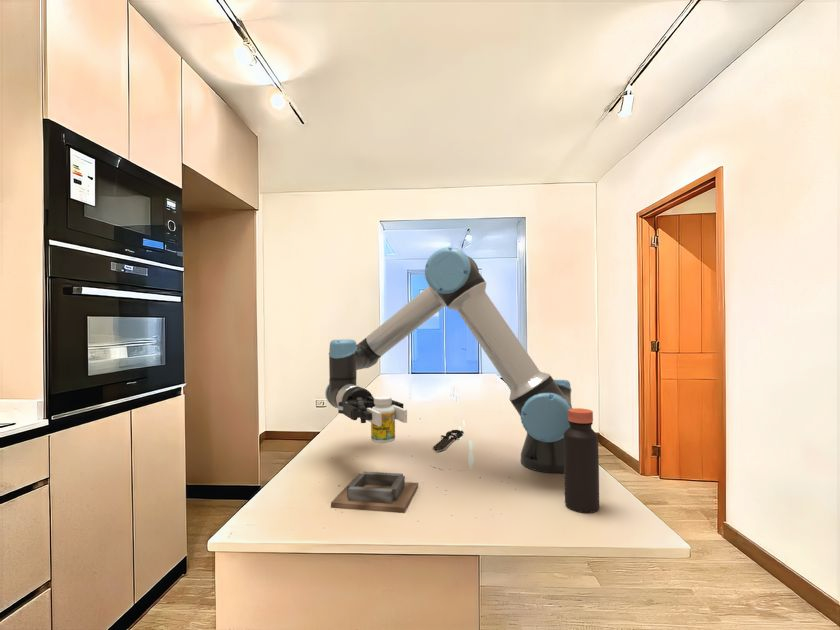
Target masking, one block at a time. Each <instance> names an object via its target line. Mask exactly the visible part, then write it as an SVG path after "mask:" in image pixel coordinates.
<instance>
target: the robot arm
mask: <svg viewBox="0 0 840 630" xmlns="http://www.w3.org/2000/svg"><path fill="white" fill-rule="evenodd" d="M424 277H425V280H426V282H427V284H428V286H427V287H426V288H425V289H424V290H422V291H421V292H420V293H419V294H417V295H416V296H414V298H412V299H411V300H410V301H409V302H407V304H405V305H404V306H403V307H401V308H400V309H399V310H398V311H396V312H395V313H394V314H393V315H392V316H390V317H389V318H388V319H387V320H386V321H384V322H383V323H382V324H381V325H380V326H378V327H377V328H376V329H374V330H373V331H372V332H370V334H369V335H367V336H366V337H365V338H364V339H362V340H361V341H359V342H358V343H357V342H356V340H355V339H349V338H347V339H345V338H342V339H331V341H330V343H329V348H328V349H329V350H328V351H329V352H328V359H329V363H328V365H329V366H328V368H329V369H328V371H329V374H328V375H329V379H328V381H329V382H328V385H327V387H326V388H325V392H324V393H325V394H324V395H325V399H326V400H327V402H328V403H329V404H330V405H331V407H333V408H336V409H337V410H338V414H341V415H344V416H346V417H347V418H349V419H350V420H351V421H357V420H358V419H359V420H360V424H367V421H368V422H370V424H371V423H373V424H375V425H377V426H382V424H381V413H380V412H378V411H376V410H374V409H372V408H373V407H374V406H375V404H374V398H375V397H374V396H373V394H372V393H371V391H370V390H368V389H366V388H363V387H361V386H358V385H357V375H358V374H357V373H358V372H357V371H358V370H362V369H363V370H364V369H369V368H372V367H373V366H374V365H376V364H377V363H378V361H379V359H380V358H381V357H383V356H384V355H385V354H386V353H387V352H389V351H390V350H391V349H393V347H395V346H396V345H398V344H399V343H400V342H402V341H403V340H404V339H405V338H407V337H408V336H409V335H410V334H412V333H413V332H414V331H416V329H418V328H419V327H421V326H422V325H423V324H425V323H426V322H427V321H428V320H429V319H431V318H432V317H433V316H434V315H436V314H437V313H439V312H440V311H441V310H442V309H443V308H445V307H447V308H448V309H449V310H454V311H456V312H457V313H458V314H459V316H460V317H461V318H462V320H463V322H464V323H465V324H466V326H467V327H468V329H469V330H470V332H471V333H472V335H473V337H475V339H476V341H477V342H478V344H479V345H480V347H481V348H482V350H483V351H484V353H485V354H486V356H487V357H488V359H489V360H490V362H491V363H492V365H493V366H494V367H495V369H496V372H498V374H499V376H500V377H501V379H503V381H504V383H505V384H506V386H507V388H508V389H509V391H510V394H509V402H510V403H511V404H512V406H513V407H514V409H515V411H516V412H517V413H518V415H519V416H520V420H521V421H520V422H521V424H522V427H523V429H524V430H525V432H526V436H525V439H524V443H523V446H522V449H521V453H520V463H521V465H522V466H524V467H525V468H528V469H530V470H534V471H538V472H542V473H550V474H551V473H552V474H558V473H559V474H560V473H561V474H562V473H564V433H565V431H566V430H567V429H568V428H569V427H570V423H569V421H568V410H569V409H573V407H572V397H571V395H572V387H571V383H570V381H569V380H567V379H554V378H553V377H552V376H551V374H550V373H547V372H542V371H541V370H540V369H539V368H538V366H537V364H535V361H534V360H533V359H532V358H531V356H530V355H529V353H528V352H527V350H526V349H525V348H524V346H523V345H522V343H521V342H520V340H519V339H518V337H517V336H516V334H515V333H514V331H513V330H512V329H511V327H510V326H509V325H508V323H507V322H506V320H505V318H504V317H503V316H502V314H501V313H500V311H499V310H498V308H497V307H496V305H495V304H494V303H493V301H492V299H491V298H490V296H488V294H487V293H486V289H487V282H486V280H485V279H484V278H483V276H482V275H481V273H480V270H479V266H478V265H477V263H476V261H475V260H474V259H472V257H470V256H468V255H467V254H466V253H465V252H464V251H463V250H461V249H459V248H456V247H449V246H448V247H447V246H446V247H441V248H439V249H437V250H435V251H434V252H432V254H431V255H430V256H429V257H428V258H427V260H426V263H425V268H424ZM391 406H393V407H394V409H395V420H396V421H399V422H401V423H403V424H405V423H406V424H407V423H408V409H405V408H404V403H402V402H399V401H397V400H395V399H394V400H392V404H391Z"/></svg>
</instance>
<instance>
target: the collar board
mask: <svg viewBox="0 0 840 630" xmlns="http://www.w3.org/2000/svg"><path fill="white" fill-rule="evenodd" d="M418 488H419V482H411V481H406V478H405V475H404V473H398V472H397V473H395V472H383V471H382V472H381V471H380V472H379V471H363V472H361V473H358V474H357V475H356V476H355V477H354V478H353V479H352V480H351V481H350V482H349V483H348V484H347V485H346V486H345V487H344V488H343V490H341V492H339V493H338V494H337V496H336V497H335V498H334V499H333V500H331V502H330V507H331V508H337V509H353V510H361V511H362V510H363V511H364V510H366V511H376V512H377V511H378V512H390V513H391V512H392V513H393V512H394V513H403V514H404V513H406V510H407V509H408V507H409V505H410V503H411V501H412V500H413V498H412V497H414V495H415V494H416V492H417V490H418ZM411 499H412V500H411Z"/></svg>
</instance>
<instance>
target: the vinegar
mask: <svg viewBox="0 0 840 630" xmlns="http://www.w3.org/2000/svg"><path fill="white" fill-rule="evenodd" d="M568 421H569V423H570V427H569V428H568V429H567V430H566V431H565V433H564V475H563V477H564V504H565V506H566V507H567V508H568V509H570V510H571V511H575V512H578V513H587V514H588V513H594V512H597V511H598V510H599V509H600V466H599V465H600V463H599V462H600V461H599V459H600V457H599V436H598V434H597V433H596V432H595V431H594V429H593V428H592V426H593V424H594V423H593V422H594V411H593V410H591V409H587V408H577V407H575V408H573V407H572V409H569V410H568Z"/></svg>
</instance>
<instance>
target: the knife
mask: <svg viewBox="0 0 840 630" xmlns="http://www.w3.org/2000/svg"><path fill="white" fill-rule="evenodd" d="M456 433H457V434H456ZM463 434H464V430H460V429H452V430H449V431H447V432H446V434H445V435H443V434H442V435H440V438H441V439H440V440H439V441H438V442H437V443H435V445H434V446H433V449H434V450H435V452H436V453H438V452H443V451H446V449H447V448H448V447H450V445H452V444H453V443H454V442H455V441H460V439H461V437H462V436H463ZM449 436H450V437H449ZM452 436H453V437H452ZM442 438H443V439H442ZM456 439H457V440H456Z"/></svg>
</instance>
